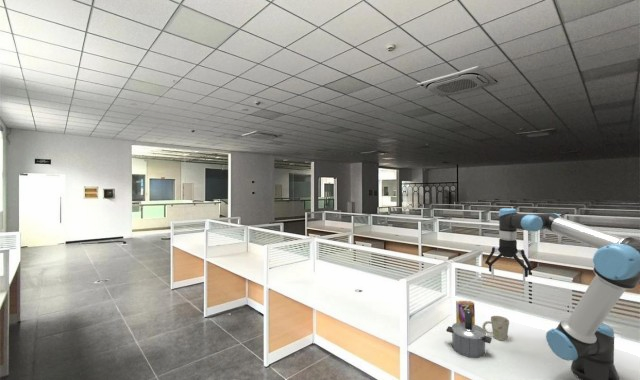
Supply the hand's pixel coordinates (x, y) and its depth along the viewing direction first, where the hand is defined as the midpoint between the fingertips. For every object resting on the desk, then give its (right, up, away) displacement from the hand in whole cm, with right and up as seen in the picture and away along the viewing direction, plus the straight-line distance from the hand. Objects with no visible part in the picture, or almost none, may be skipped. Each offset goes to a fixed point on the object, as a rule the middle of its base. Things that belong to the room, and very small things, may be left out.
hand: (507, 280), depth 152 cm
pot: (-22, -33, -3) cm, 40 cm away
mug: (-2, -33, +8) cm, 34 cm away
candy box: (-13, -33, +18) cm, 39 cm away
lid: (-22, -24, -4) cm, 33 cm away
